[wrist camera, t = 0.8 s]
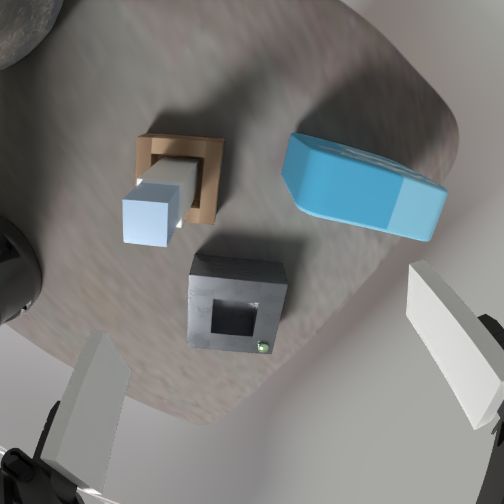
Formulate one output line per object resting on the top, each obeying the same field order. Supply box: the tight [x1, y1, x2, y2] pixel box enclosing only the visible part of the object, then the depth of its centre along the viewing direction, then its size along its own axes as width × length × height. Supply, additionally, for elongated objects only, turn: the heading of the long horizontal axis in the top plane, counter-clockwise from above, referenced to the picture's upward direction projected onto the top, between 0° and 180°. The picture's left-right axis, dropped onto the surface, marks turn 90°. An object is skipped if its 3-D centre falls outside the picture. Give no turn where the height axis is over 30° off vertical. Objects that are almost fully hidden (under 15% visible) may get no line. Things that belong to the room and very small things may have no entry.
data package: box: [281, 133, 448, 241], centre depth 26 cm, size 12×4×12 cm, turn 78°
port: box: [187, 254, 288, 354], centre depth 36 cm, size 10×10×5 cm
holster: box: [135, 133, 224, 225], centre depth 30 cm, size 8×8×3 cm
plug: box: [123, 156, 199, 247], centre depth 25 cm, size 4×4×13 cm
